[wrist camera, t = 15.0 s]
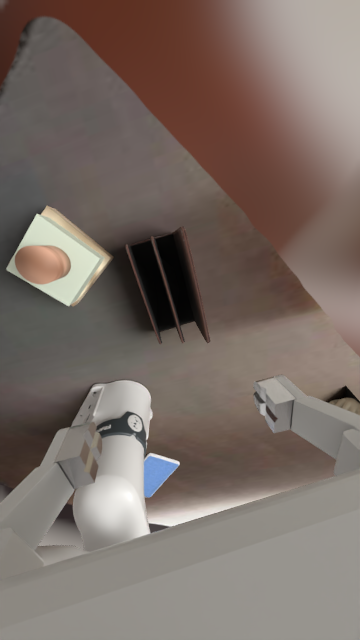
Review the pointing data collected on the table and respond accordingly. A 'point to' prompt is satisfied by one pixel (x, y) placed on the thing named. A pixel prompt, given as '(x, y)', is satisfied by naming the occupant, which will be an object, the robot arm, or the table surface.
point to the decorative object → (348, 402)
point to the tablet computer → (156, 472)
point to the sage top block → (78, 252)
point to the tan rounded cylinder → (42, 263)
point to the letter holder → (168, 282)
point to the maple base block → (83, 237)
